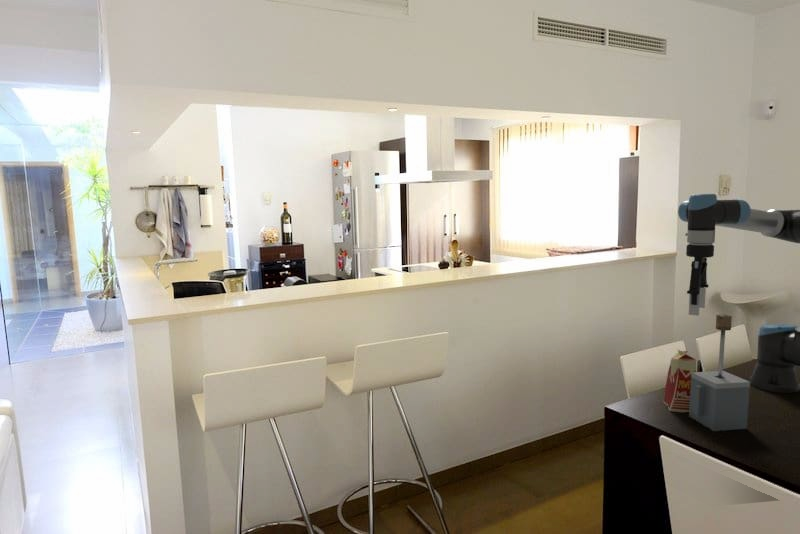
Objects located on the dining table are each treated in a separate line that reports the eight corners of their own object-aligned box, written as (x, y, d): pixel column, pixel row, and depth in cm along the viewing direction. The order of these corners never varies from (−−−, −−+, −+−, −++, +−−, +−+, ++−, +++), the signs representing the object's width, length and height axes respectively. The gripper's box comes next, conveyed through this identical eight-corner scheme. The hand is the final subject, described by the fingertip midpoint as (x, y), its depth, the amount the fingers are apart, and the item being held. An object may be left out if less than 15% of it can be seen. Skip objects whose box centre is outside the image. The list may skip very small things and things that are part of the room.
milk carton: (700, 413, 177) (704, 353, 174) (669, 411, 178) (672, 351, 176) (691, 403, 185) (695, 345, 183) (662, 401, 187) (665, 344, 185)
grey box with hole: (720, 414, 176) (723, 370, 174) (746, 428, 165) (750, 381, 163) (683, 417, 174) (685, 372, 172) (707, 431, 163) (710, 384, 161)
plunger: (721, 388, 173) (726, 312, 170) (741, 397, 165) (746, 318, 162) (697, 389, 172) (702, 313, 169) (716, 398, 164) (721, 319, 161)
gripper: (692, 240, 183) (689, 303, 185) (680, 246, 163) (677, 317, 165) (718, 241, 178) (715, 305, 181) (709, 247, 158) (705, 319, 161)
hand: (696, 311), depth 173 cm, fingers open, 13 cm apart
